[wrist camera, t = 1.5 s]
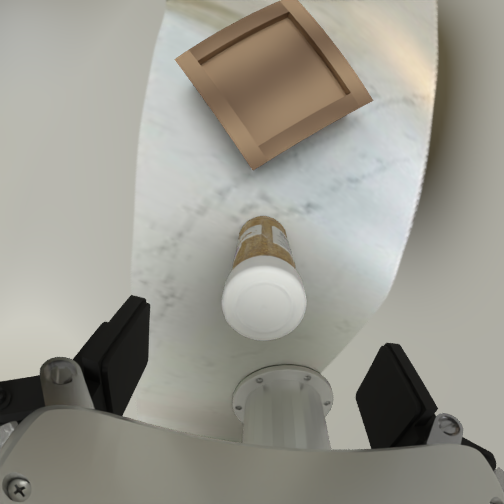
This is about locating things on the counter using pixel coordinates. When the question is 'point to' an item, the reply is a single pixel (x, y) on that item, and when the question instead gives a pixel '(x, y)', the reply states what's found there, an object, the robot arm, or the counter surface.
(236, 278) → the sprinkles bottle
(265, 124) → the wooden box
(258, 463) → the robot arm
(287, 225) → the counter surface
